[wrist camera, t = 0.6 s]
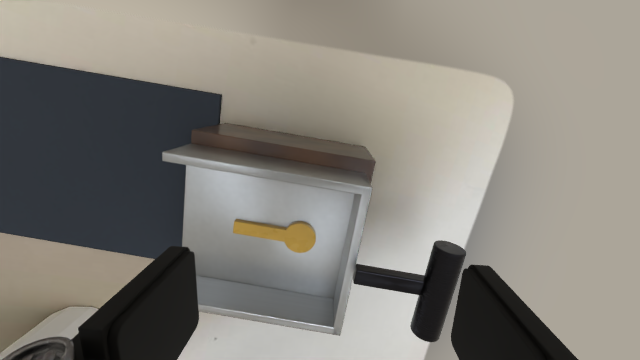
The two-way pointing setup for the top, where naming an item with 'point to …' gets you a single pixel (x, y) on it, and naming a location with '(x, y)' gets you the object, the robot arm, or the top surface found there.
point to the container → (54, 327)
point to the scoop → (277, 259)
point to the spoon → (280, 233)
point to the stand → (286, 147)
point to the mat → (95, 157)
